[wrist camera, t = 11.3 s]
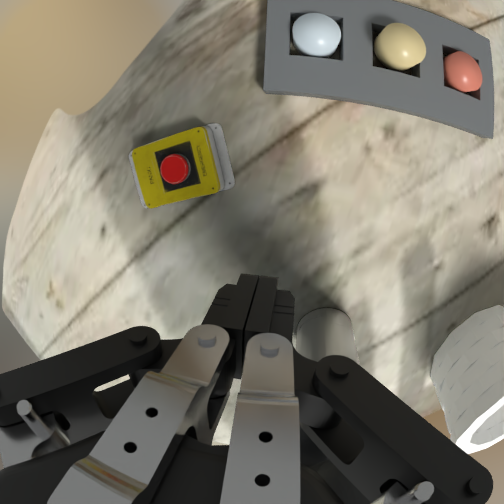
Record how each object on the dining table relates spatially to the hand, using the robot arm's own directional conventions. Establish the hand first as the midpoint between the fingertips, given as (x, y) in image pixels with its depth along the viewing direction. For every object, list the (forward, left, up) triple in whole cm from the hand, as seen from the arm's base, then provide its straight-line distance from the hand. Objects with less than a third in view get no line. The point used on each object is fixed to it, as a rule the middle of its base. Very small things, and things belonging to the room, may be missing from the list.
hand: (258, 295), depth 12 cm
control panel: (+5, -23, -27) cm, 36 cm away
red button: (-2, -30, -27) cm, 40 cm away
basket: (-50, -12, -27) cm, 58 cm away
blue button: (+12, -16, -27) cm, 34 cm away
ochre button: (+5, -23, -25) cm, 34 cm away
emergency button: (+12, +10, -28) cm, 32 cm away
